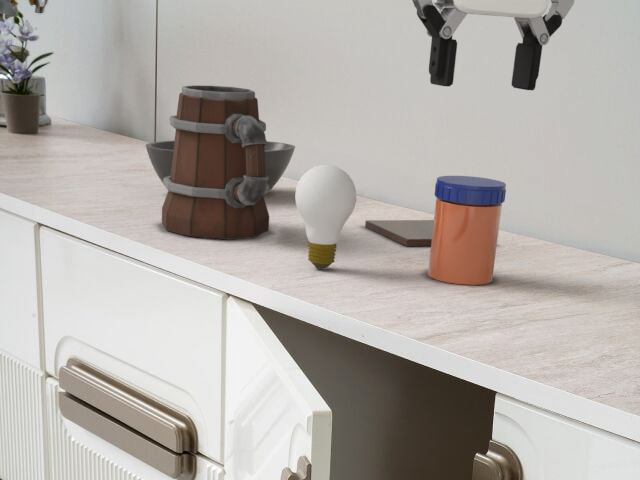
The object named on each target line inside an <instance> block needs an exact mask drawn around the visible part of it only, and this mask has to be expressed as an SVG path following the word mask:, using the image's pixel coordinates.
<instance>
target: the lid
mask: <svg viewBox="0 0 640 480" xmlns="http://www.w3.org/2000/svg"><path fill="white" fill-rule="evenodd" d="M506 187H507V184H506V183H505V182H503V181H501V180H498V179H493V178H486V177H480V176H469V175H442V176H438V177H437V178H436V182H435V187H434V197H435V198H439V199H442V200H445V201H450V202H456V203H463V204H474V205H496V204H503V203H505V200H506V193H507V189H506Z"/></svg>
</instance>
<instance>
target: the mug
mask: <svg viewBox="0 0 640 480" xmlns="http://www.w3.org/2000/svg"><path fill="white" fill-rule="evenodd" d="M258 100H259V99H258V98H257V97H256V92H255V91H254V90H252V89H249V88H244V87H236V86H223V85H194V84H193V85H185V86H182V87H181V92H180V93H179V94H178V102H177V108H176V109H177V110H176V115H171V116H170V117H169V125H170V126H171V127H172V128H173V129H175V133H174V140H175V141H174V140H173V141H174V149H173V158H172V166H171V175H170V176H168V177H164V179H163V183H162V185H163V186H164V188H166V190H167V193H166V196H165V199H164V202H163V204H162V207H161V224H162V225H163V227H164V229H165V230H166V231H168V232H171V233H174V234H178V235H183V236H187V237H191V238H200V239H201V238H203V239H215V240H217V239H218V240H233V239H247V238H248V239H249V238H255V237H257V236H260V235H263V234H265V233H267V232H269V230H270V212H269V210H268V206H267V204H266V200H265V195H264V194H266V195H267V194H269V193H270V191H269V185H268V184H267V182H268V180H269V177H268V176H267V175H265V149H264V146H266V145H267V141H268V140H267V138H266V137H267V136H266V133H265V132H266V131H267V124H266V122H265V121H263V120H261V119H260V114H259V113H260V111H259V101H258Z"/></svg>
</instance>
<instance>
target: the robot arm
mask: <svg viewBox="0 0 640 480" xmlns="http://www.w3.org/2000/svg"><path fill="white" fill-rule="evenodd" d="M411 1H412V3H413V6H414V8H415V9H416V16H417V17H418V19H419V21H420V22H421V23H422V24H423V26H424V28H425V29H426V34H427V36H428V37H430V38H431V42H430V51H429V62H428V63H429V64H428V73H429V75H430V78H429V81H430V84H431V85H436V86H439V87H440V86H441V87H451V86H453V84H454V77H455V68H456V59H457V52H458V51H457V50H458V49H457V48H458V42H457V39H455V38H453V35H454V33H455V32H456V31H457V29H458V28H459V26H460V25H461V24H462V22H463V21H464V19H465V18H466V16H467V15H477V16H478V15H479V16H480V15H481V16H493V17H505V18H513V19H514V22H515V24H516V26H517V28H518V31H519V34H520V36H521V38H522V42H517V44H516V46H515V53H514V61H513V69H512V77H511V87H513V88H514V89H519V90H525V91H535V89H536V84H537V79H538V78H539V74H540V66H541V59H542V52H543V46H546V45H547V44H549V42H550V38H551V37H552V36H553V35H554V34H555V33H556V32H557V31H558V29H559V28H560V27H561V26H562V24H563V20H564V19H565V18H566V17H567V15H568V14H569V12H570V11H571V9H572V7H573V6H574V4H575V0H411ZM549 2H550V3H551V5H550V7H549V9H548V6H549ZM547 9H548V12H547ZM546 12H547V13H546Z"/></svg>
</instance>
